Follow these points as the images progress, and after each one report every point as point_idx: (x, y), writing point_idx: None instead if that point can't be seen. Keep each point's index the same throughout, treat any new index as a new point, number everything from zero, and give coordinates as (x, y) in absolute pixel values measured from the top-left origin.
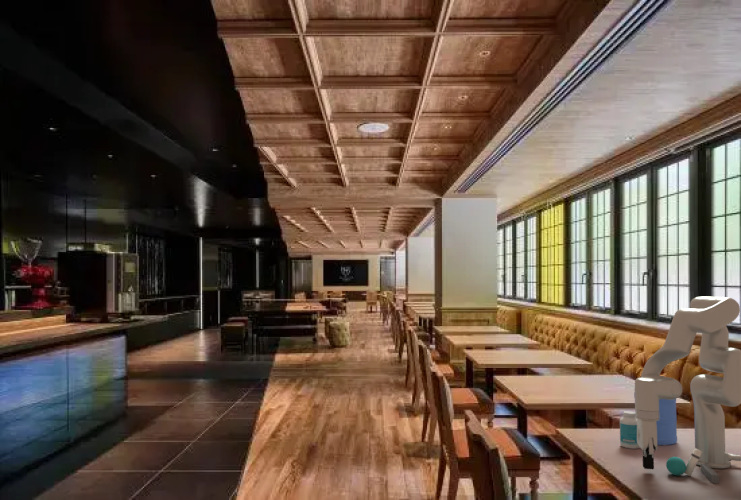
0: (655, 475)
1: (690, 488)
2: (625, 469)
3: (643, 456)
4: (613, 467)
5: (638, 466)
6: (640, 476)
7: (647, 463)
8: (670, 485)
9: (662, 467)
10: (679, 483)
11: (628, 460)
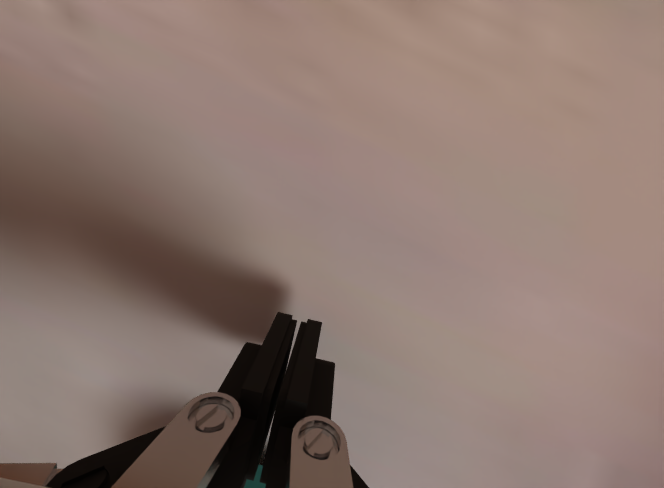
0: (236, 350)
1: (4, 434)
2: (389, 170)
3: (285, 399)
4: (461, 65)
5: (466, 325)
6: (198, 223)
7: (235, 365)
8: (28, 348)
9: (424, 476)
10: (86, 420)
11: (651, 316)
